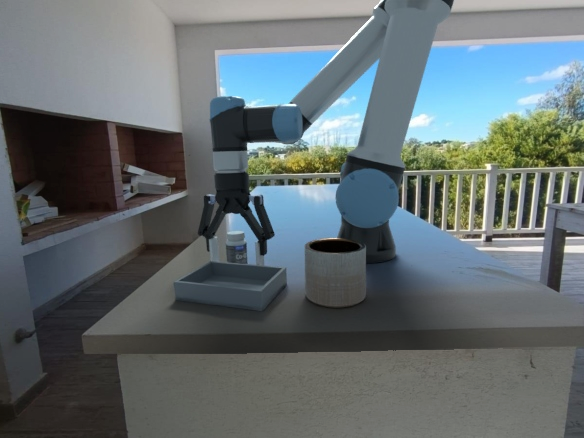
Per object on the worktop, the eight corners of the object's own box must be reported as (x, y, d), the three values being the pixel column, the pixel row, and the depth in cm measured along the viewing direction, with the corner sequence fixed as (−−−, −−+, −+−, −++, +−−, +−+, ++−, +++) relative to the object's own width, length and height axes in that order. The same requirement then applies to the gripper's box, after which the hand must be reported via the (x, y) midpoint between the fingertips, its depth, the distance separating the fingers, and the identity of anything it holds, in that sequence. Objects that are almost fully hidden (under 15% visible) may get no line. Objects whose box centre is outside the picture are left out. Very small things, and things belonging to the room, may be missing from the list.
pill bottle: (238, 272, 75) (236, 235, 73) (223, 269, 77) (220, 233, 76) (252, 266, 79) (250, 231, 77) (236, 263, 81) (234, 229, 80)
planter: (363, 312, 54) (364, 255, 52) (298, 306, 57) (297, 252, 55) (367, 287, 64) (368, 238, 62) (312, 282, 67) (311, 236, 65)
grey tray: (286, 284, 67) (286, 267, 66) (262, 311, 55) (261, 291, 55) (211, 276, 72) (210, 261, 72) (175, 299, 61) (173, 281, 60)
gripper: (287, 169, 74) (290, 265, 78) (195, 171, 81) (203, 258, 85) (274, 171, 67) (278, 276, 71) (175, 173, 74) (184, 267, 78)
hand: (237, 266), depth 78 cm, fingers open, 11 cm apart
